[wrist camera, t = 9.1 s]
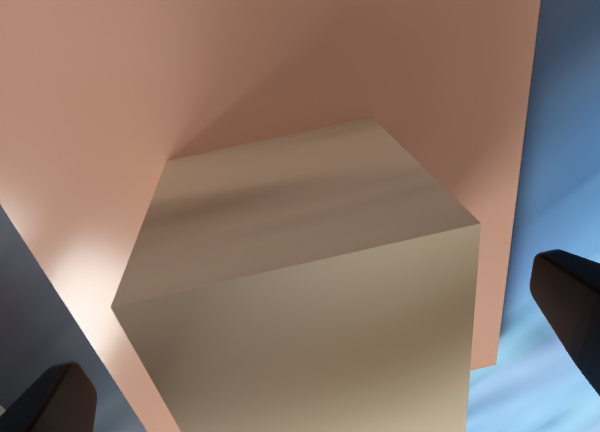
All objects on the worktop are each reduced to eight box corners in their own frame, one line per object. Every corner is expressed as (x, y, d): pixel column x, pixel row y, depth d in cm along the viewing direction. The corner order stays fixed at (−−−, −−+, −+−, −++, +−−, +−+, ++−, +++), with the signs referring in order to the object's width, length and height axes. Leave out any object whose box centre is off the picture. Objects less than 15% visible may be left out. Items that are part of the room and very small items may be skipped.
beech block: (384, 275, 12) (465, 433, 8) (222, 313, 12) (216, 494, 8) (371, 116, 10) (480, 223, 5) (166, 160, 10) (110, 307, 5)
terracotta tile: (484, 348, 16) (496, 364, 15) (160, 425, 15) (156, 445, 15) (539, -216, 8) (569, -235, 7) (-150, -84, 7) (-191, -91, 7)
